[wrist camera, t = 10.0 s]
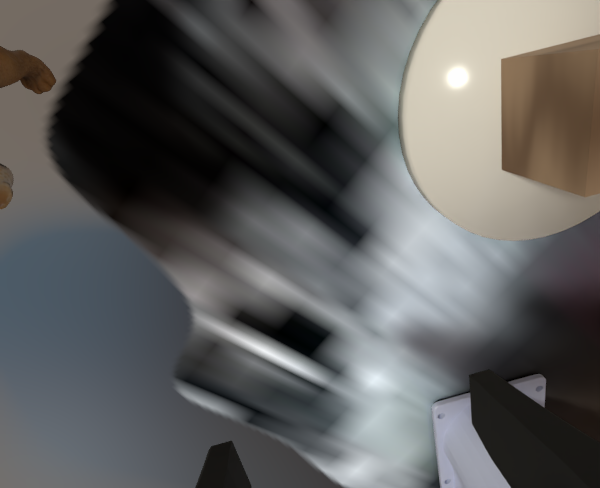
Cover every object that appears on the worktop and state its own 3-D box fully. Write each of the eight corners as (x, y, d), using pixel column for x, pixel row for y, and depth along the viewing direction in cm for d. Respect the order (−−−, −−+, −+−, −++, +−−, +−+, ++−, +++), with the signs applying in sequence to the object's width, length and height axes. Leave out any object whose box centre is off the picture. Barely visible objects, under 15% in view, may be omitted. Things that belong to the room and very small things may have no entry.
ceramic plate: (646, 197, 22) (668, 203, 21) (413, 259, 21) (422, 269, 20) (696, -112, 16) (729, -127, 15) (379, -36, 16) (389, -45, 14)
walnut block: (597, 144, 19) (711, 163, 14) (501, 169, 19) (585, 197, 14) (608, 31, 17) (746, 11, 12) (501, 59, 16) (598, 49, 12)
